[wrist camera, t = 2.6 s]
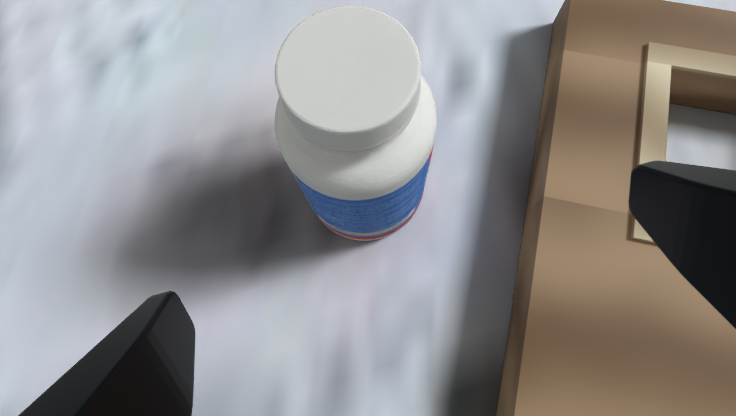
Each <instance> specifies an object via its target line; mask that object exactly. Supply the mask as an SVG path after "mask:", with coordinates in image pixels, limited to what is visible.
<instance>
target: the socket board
mask: <svg viewBox="0 0 736 416" xmlns="http://www.w3.org/2000/svg"><path fill="white" fill-rule="evenodd" d="M669 103H674V104H679V105H685V106H691V107H696V108H702V109H707V110H713V111H719V112H724V113H730V114H736V12H733V11H727V10H721V9H714V8H708V7H701V6H695V5H689V4H682V3H676V2H670V1H663V0H565V1H564V3H563V5H562V7H561V9H560V11H559V13H558V15H557V17H556V18H555V20H554V22H553V29H552V36H551V43H550V50H549V56H548V63H547V70H546V77H545V84H544V91H543V98H542V105H541V111H540V118H539V125H538V132H537V139H536V146H535V153H534V160H533V166H532V173H531V180H530V187H529V194H528V201H527V208H526V214H525V221H524V228H523V235H522V242H521V249H520V256H519V263H518V269H517V276H516V283H515V290H514V297H513V304H512V311H511V318H510V324H509V331H508V338H507V345H506V352H505V359H504V366H503V373H502V379H501V386H500V393H499V400H498V407H497V414H496V416H736V329H735V328H734V327H733V326H732V325H731V324H730V323H729V322H728V321H727V320H726V319H725V318H724V317H723V316H722V315H721V314H720V313H719V312H718V311H717V310H716V309H715V308H714V307H713V306H712V305H711V304H710V303H709V302H708V301H707V300H706V299H705V298H704V297H703V296H702V295H701V294H700V293H699V292H698V291H697V290H696V289H695V288H694V287H693V286H692V285H691V284H690V283H689V282H688V281H687V280H686V279H685V278H684V277H683V276H682V275H681V274H680V273H679V271H678V270H677V269H676V268H675V267H674V266H673V264H672V263H671V262H670V261H669V260H668V258H667V257H666V256H665V255H664V253H663V252H662V251H661V250H660V249H659V247H658V246H657V245H656V244H655V242H654V241H653V240H652V239H651V237H650V236H649V235H648V234H647V233H646V231H645V230H644V229H643V228H642V226H641V225H640V224H639V223H638V221H637V220H636V219H635V218H634V216H633V215H632V213H631V211H630V209H629V190H630V179H631V172H632V170H633V168H634V167H635V166H637V165H640V164H643V163H647V162H651V161H656V160H657V161H666V145H667V129H668V113H669Z"/></svg>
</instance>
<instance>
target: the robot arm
mask: <svg viewBox="0 0 736 416" xmlns="http://www.w3.org/2000/svg"><path fill="white" fill-rule="evenodd" d="M629 209H630V211H631V213H632V215H633V216H634V218H635V219H636V220H637V221H638V223H639V224H640V225H641V226H642V228H643V229H644V230H645V231H646V233H647V234H648V235H649V236H650V237H651V239H652V240H653V241H654V242H655V244H656V245H657V246H658V247H659V249H660V250H661V251H662V252H663V253H664V255H665V256H666V257H667V258H668V260H669V261H670V262H671V263H672V264H673V266H674V267H675V268H676V269H677V270H678V271H679V273H680V274H681V275H682V276H683V277H684V278H685V279H686V280H687V281H688V282H689V283H690V284H691V285H692V286H693V287H694V288H695V289H696V290H697V291H698V292H699V293H700V294H701V295H702V296H703V297H704V298H705V299H706V300H707V301H708V302H709V303H710V304H711V305H712V306H713V307H714V308H715V309H716V310H717V311H718V312H719V313H720V314H721V315H722V316H723V317H724V318H725V319H726V320H727V321H728V322H729V323H730V324H731V325H732V326H733V327H734V328H735V329H736V171H735V170H727V169H719V168H712V167H704V166H697V165H689V164H681V163H674V162H666V161H657V160H656V161H651V162H647V163H643V164H640V165H637V166H635V167H634V168H633V170H632V172H631V179H630V190H629ZM194 359H195V328H194V324H193V322H192V320H191V318H190V316H189V314H188V313H187V311H186V309H185V307H184V305H183V304H182V302H181V300H180V298H179V297H178V295H177V294H176V293H175V292H172V291H168V292H164V293H161V294H157V295H153V296H151V297H149V298H148V299H147V300H146V301H145V302H144V303H143V304H141V305H140V306H139V307H138V308H137V309H136V310H135V311H134V312H133V313H131V314H130V315H129V316H128V317H127V318H126V319H125V320H124V321H123V322H122V323H120V324H119V325H118V326H117V327H116V328H115V329H114V330H113V331H112V332H110V333H109V334H108V335H107V336H106V337H105V338H104V339H103V340H102V341H100V342H99V343H98V344H97V345H96V346H95V347H94V348H93V349H92V350H90V351H89V352H88V353H87V354H86V355H85V356H84V357H83V358H82V359H81V360H79V361H78V362H77V363H76V364H75V365H74V366H73V367H72V368H71V369H69V370H68V371H67V372H66V373H65V374H64V375H63V376H62V377H61V378H59V379H58V380H57V381H56V382H55V383H54V384H53V385H52V386H51V387H49V388H48V389H47V390H46V391H45V392H44V393H43V394H42V395H41V396H40V397H38V398H37V399H36V400H35V401H34V402H33V403H32V404H31V405H30V406H28V407H27V408H26V409H25V410H24V411H23V412H22V413H21V414H20V415H18V416H191V415H192V406H193V387H194Z"/></svg>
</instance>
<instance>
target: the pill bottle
mask: <svg viewBox="0 0 736 416" xmlns="http://www.w3.org/2000/svg"><path fill="white" fill-rule="evenodd" d="M275 81H276V86H277V90H278V93H279V99H278V102H277V107H276V112H275V134H276V140H277V143H278V147H279V149H280V151H281V154H282V156H283V157H284V159H285V161H286V163H287V165H288V166H289V168H290V170H291V171H292V173H293V175H294V176H295V178H296V180H297V182H298V184H299V185H300V187H301V189H302V191H303V193H304V194H305V196H306V198H307V200H308V202H309V204H310V205H311V207H312V209H313V211H314V212H315V214H316V215H317V217H318V218H319V219H320V221H321V222H322V223H323V224H324V225H325V226H326V227H328V228H329V229H330V230H331V231H333V232H335V233H336V234H338V235H340V236H343V237H345V238H348V239H353V240H360V241H370V240H377V239H381V238H384V237H387V236H389V235H391V234H393V233H395V232H397V231H398V230H400V229H401V228H402V227H404V226H405V225H406V224H407V223H408V222H409V221H410V219H411V218H412V217H413V215H414V214H415V212H416V210H417V208H418V206H419V204H420V201H421V198H422V195H423V190H424V185H425V181H426V177H427V172H428V168H429V164H430V159H431V155H432V150H433V146H434V140H435V134H436V124H437V120H436V107H435V102H434V98H433V95H432V93H431V90H430V88H429V86H428V84H427V82H426V81H425V79H424V78H423V77H422V75H421V60H420V56H419V51H418V49H417V46H416V44H415V42H414V40H413V38H412V36H411V35H410V33H409V32H408V31H407V30H406V29H405V28H404V27H403V26H402V25H401V24H400V23H399V22H398V21H397V20H395V19H394V18H392V17H391V16H389V15H387V14H385V13H383V12H380V11H378V10H374V9H371V8H367V7H361V6H341V7H334V8H330V9H327V10H324V11H321V12H318V13H316V14H314V15H312V16H311V17H309V18H307V19H305V20H304V21H302V22H301V23H300V24H299V25H297V26H296V27H295V28H294V29H293V30H292V31H291V32H290V34H289V35H288V36H287V38H286V39H285V41H284V42H283V44H282V46H281V48H280V50H279V53H278V56H277V60H276V65H275Z"/></svg>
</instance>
